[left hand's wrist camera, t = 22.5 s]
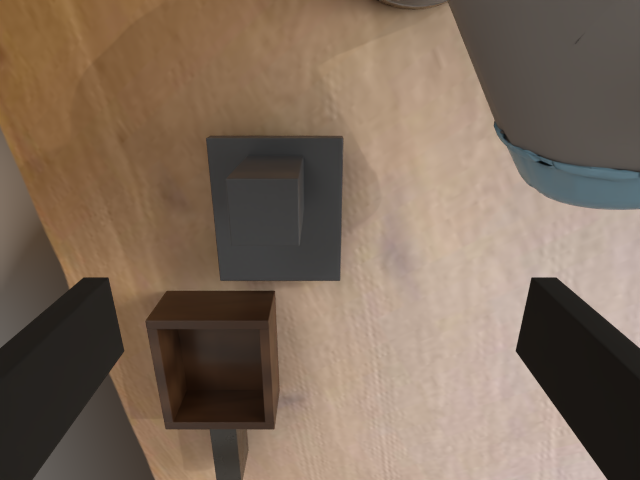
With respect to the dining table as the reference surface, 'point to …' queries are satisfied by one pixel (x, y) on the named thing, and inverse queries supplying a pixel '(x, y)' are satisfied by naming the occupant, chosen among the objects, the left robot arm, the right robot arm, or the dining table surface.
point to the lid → (277, 206)
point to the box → (217, 367)
